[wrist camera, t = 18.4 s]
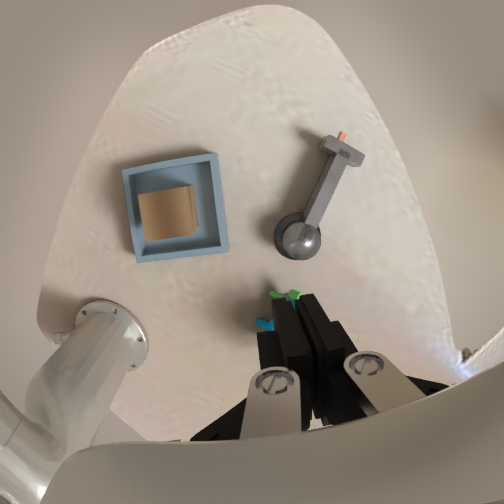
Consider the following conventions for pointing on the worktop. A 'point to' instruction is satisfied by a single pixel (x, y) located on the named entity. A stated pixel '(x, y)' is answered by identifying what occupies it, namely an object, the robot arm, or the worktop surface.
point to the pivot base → (289, 219)
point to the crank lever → (319, 200)
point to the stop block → (168, 213)
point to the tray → (206, 197)
